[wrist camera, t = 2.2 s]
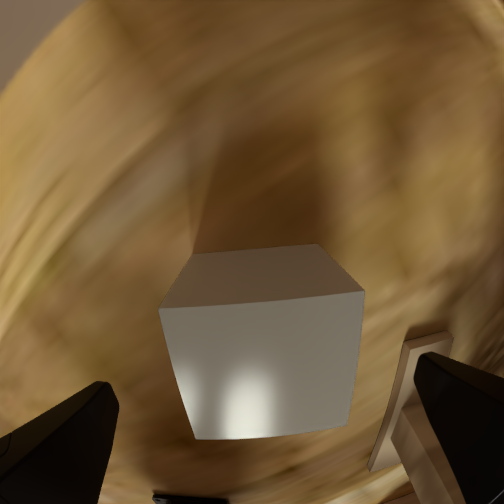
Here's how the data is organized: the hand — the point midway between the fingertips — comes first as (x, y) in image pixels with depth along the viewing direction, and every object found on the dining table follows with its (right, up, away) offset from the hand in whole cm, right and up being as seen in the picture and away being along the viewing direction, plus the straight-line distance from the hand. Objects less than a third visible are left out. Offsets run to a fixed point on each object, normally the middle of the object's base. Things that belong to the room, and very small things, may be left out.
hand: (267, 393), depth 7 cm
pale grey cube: (0, +1, +5) cm, 5 cm away
